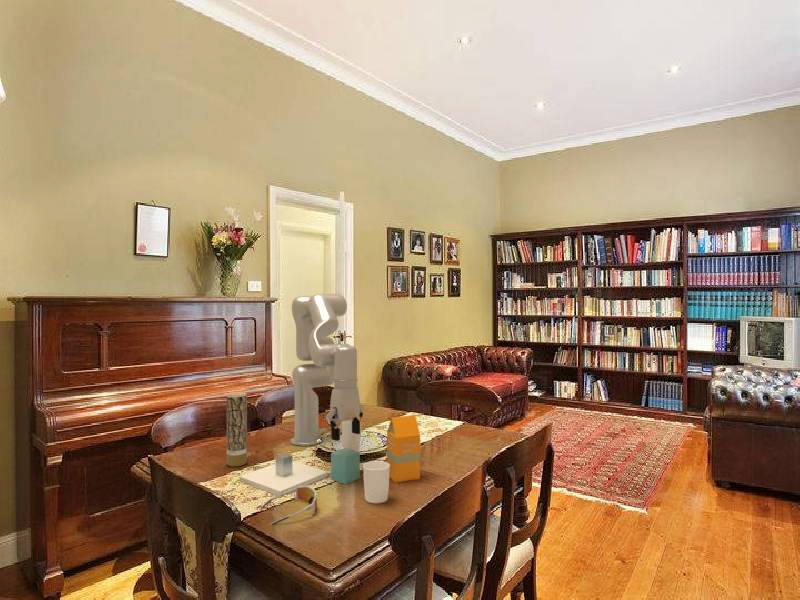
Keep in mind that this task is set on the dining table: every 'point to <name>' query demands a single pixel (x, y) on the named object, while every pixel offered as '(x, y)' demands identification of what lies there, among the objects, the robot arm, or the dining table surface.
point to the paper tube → (236, 429)
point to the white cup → (376, 481)
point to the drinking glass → (350, 436)
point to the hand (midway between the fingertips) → (345, 436)
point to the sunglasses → (301, 494)
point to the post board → (283, 478)
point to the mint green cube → (345, 465)
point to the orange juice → (403, 449)
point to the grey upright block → (283, 465)
